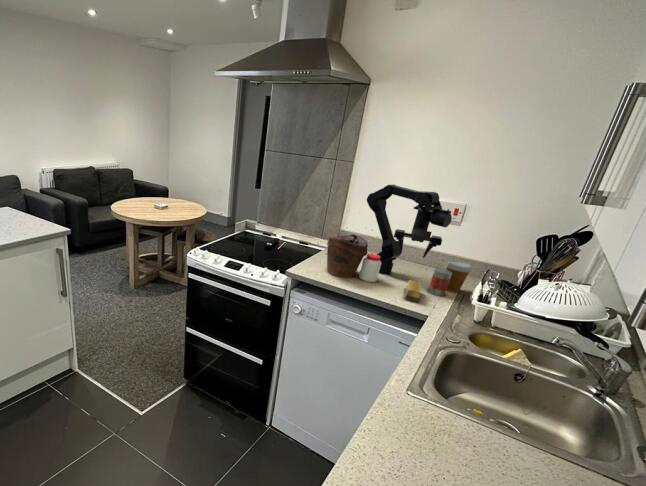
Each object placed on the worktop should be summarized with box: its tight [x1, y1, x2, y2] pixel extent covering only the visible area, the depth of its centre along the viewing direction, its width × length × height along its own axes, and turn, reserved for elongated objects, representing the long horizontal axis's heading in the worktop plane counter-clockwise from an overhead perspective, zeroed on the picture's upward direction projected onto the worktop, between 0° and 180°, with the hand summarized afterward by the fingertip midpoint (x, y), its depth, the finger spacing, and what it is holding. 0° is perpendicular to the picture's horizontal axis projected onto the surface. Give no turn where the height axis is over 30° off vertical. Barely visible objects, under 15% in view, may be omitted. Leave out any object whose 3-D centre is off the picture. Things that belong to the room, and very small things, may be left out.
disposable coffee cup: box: [445, 260, 472, 293], centre depth 171 cm, size 10×10×12 cm
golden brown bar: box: [404, 279, 422, 303], centre depth 162 cm, size 4×13×4 cm, turn 153°
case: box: [325, 234, 368, 278], centre depth 179 cm, size 18×20×18 cm
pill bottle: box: [358, 253, 381, 283], centre depth 176 cm, size 8×8×11 cm
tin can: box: [427, 267, 452, 297], centre depth 167 cm, size 7×7×10 cm
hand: (411, 255), depth 175 cm, fingers open, 9 cm apart
